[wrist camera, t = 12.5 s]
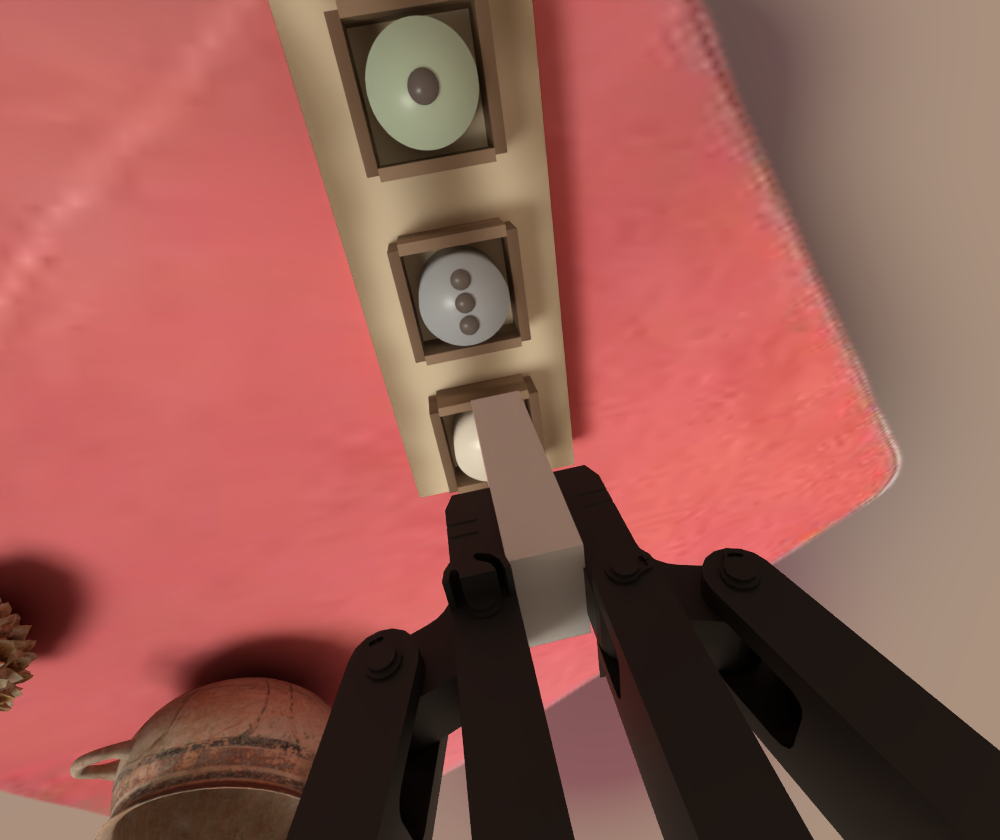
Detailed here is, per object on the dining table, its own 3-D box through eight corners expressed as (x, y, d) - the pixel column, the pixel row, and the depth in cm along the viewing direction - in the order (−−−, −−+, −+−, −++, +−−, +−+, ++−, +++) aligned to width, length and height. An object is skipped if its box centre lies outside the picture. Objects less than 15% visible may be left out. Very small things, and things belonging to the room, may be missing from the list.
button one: (385, 156, 26) (382, 159, 23) (357, 36, 23) (350, 25, 21) (480, 139, 26) (487, 140, 24) (461, 19, 24) (468, 5, 21)
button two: (459, 463, 36) (463, 489, 34) (445, 403, 34) (448, 427, 31) (526, 448, 37) (535, 473, 34) (517, 388, 34) (526, 411, 31)
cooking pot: (414, 674, 53) (415, 808, 43) (328, 766, 59) (310, 902, 49) (163, 601, 43) (84, 754, 32) (90, 721, 49) (4, 881, 39)
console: (419, 474, 40) (420, 520, 36) (277, -4, 25) (246, -35, 20) (564, 443, 41) (584, 484, 36) (514, -43, 25) (538, -82, 21)
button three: (428, 335, 31) (430, 354, 29) (409, 253, 29) (408, 266, 26) (506, 319, 31) (515, 337, 29) (494, 237, 29) (503, 248, 26)
